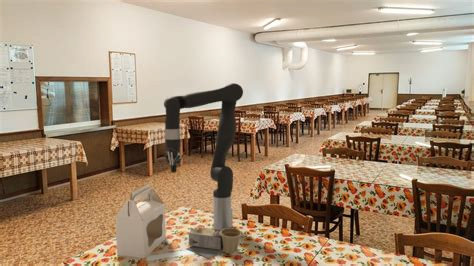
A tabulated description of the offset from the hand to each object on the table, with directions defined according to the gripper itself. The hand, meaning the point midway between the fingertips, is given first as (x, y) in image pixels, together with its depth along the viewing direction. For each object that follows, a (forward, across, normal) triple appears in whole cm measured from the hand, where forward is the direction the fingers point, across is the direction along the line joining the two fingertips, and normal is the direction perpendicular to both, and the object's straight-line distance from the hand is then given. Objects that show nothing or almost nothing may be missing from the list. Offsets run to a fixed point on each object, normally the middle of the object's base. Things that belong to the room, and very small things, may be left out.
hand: (173, 172), depth 184 cm
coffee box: (+27, -17, +3) cm, 32 cm away
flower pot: (+31, -36, -3) cm, 48 cm away
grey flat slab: (+31, -27, +5) cm, 41 cm away
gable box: (+31, -3, +21) cm, 38 cm away
